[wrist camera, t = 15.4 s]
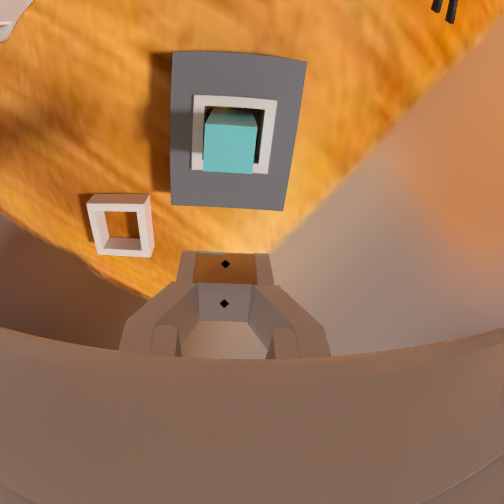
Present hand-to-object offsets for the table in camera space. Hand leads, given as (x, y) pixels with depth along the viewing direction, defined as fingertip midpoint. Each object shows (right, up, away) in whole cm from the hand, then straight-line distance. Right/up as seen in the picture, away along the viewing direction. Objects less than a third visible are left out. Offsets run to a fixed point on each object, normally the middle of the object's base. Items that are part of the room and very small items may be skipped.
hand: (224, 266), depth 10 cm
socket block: (-1, +13, +17) cm, 22 cm away
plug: (-1, +13, +18) cm, 22 cm away
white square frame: (-15, +5, +23) cm, 28 cm away
